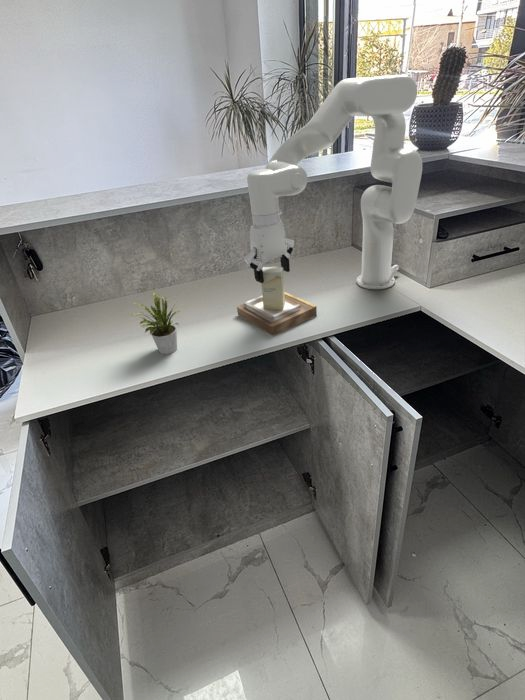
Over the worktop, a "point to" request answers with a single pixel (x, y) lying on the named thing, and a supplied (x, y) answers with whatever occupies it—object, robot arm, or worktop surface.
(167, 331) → the house plant
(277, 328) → the dock
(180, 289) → the worktop surface
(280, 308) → the skincare box
